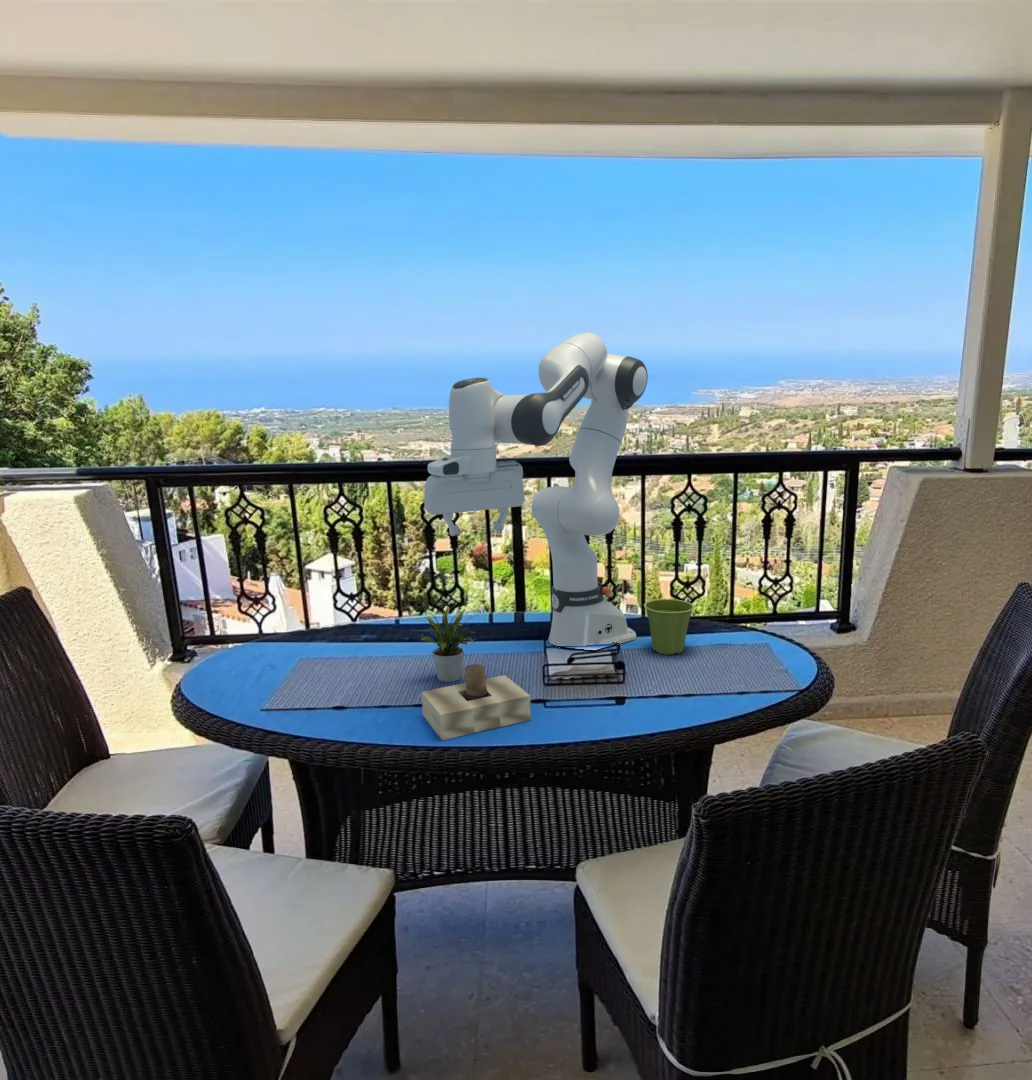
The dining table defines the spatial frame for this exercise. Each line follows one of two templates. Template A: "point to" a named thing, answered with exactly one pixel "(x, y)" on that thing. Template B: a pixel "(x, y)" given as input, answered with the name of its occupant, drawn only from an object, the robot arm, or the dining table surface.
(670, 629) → the plant pot
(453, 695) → the seat block
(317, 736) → the dining table surface
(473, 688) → the peg
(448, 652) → the house plant
